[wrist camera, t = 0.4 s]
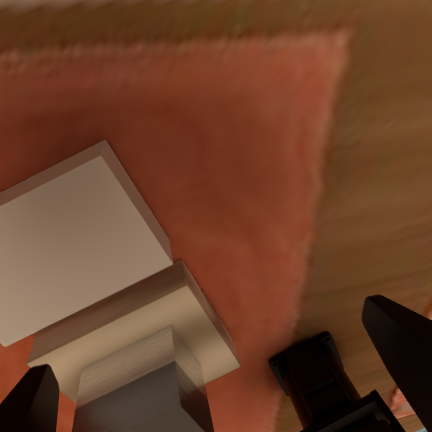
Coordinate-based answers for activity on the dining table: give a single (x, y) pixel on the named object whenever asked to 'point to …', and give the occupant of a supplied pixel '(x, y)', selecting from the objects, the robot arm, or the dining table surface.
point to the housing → (144, 389)
